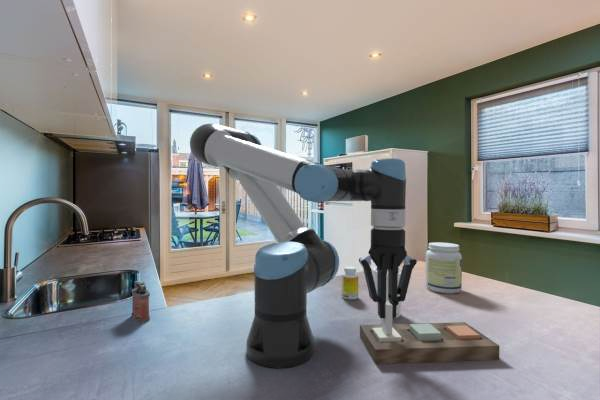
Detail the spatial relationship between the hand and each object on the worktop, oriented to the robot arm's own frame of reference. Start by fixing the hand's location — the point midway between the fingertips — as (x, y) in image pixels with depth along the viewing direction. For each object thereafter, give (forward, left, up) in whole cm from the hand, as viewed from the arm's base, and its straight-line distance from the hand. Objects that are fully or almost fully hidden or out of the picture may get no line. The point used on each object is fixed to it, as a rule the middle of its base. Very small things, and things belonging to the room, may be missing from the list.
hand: (386, 331), depth 69 cm
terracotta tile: (+18, 0, -2) cm, 18 cm away
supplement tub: (+37, +42, -4) cm, 56 cm away
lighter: (-63, +21, -4) cm, 67 cm away
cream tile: (0, 0, -2) cm, 2 cm away
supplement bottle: (0, +35, -4) cm, 35 cm away
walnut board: (+9, 0, -4) cm, 10 cm away
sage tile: (+9, 0, -2) cm, 9 cm away
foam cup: (+8, +20, -4) cm, 22 cm away
